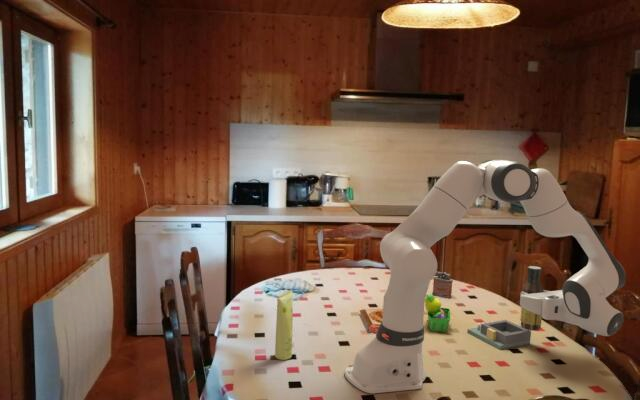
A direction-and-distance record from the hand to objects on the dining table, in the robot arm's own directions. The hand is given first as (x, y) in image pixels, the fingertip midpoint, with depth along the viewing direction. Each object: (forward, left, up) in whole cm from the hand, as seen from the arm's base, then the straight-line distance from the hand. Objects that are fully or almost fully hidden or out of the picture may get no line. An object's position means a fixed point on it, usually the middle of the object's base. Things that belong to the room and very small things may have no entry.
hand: (530, 292), depth 171 cm
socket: (-5, +5, -16) cm, 17 cm away
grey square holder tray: (-5, +7, -17) cm, 19 cm away
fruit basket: (-18, +23, -17) cm, 34 cm away
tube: (-77, +19, -17) cm, 81 cm away
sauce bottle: (0, -1, -11) cm, 12 cm away
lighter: (+6, +50, -17) cm, 54 cm away
